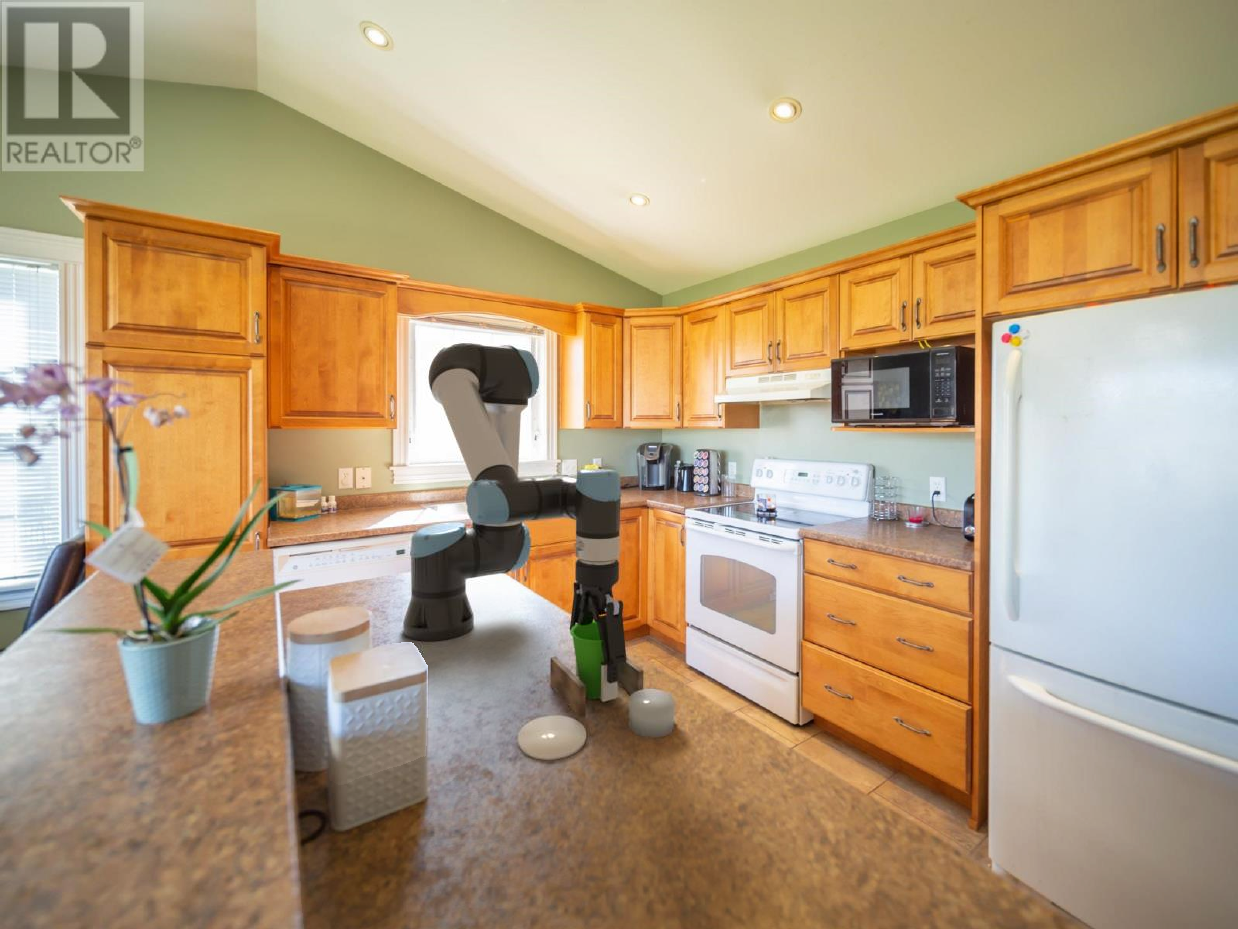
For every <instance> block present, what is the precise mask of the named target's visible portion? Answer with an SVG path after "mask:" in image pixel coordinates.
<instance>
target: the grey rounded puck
mask: <svg viewBox="0 0 1238 929" xmlns="http://www.w3.org/2000/svg"><path fill="white" fill-rule="evenodd" d="M628 703H629V705H628V706H629V707H628V708H629V709H628V712H629V713H628V726H629V728H630V730H631V731H632V732H633V733H635V734H636V735H638V736H641V737H643V738H652V739H656V738H661V737H665V736H667V735H669V734H670V733H672V731H673V730H674V726H675V703H676V702H675V698H674V697H673V696H672V695H671V693H668V692H666V691H664V690H661V689H658V688H657V689H655V688H643V690H639V691H636V692H634V693H633V694H630V697H629V702H628Z"/></svg>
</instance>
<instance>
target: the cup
mask: <svg viewBox="0 0 1238 929" xmlns="http://www.w3.org/2000/svg"><path fill="white" fill-rule="evenodd" d="M569 633H570V635H571V636H572V640H573V647H574V656H575V663H576V662H577V669H578V676H579V677H578V678H579V679H580V680H581V681H582V682H583V683H584V684H585V685H586V698H589V699H593V700H596V699H597V698H598V699H601V662H603V661H604V655H603V650H602V645H601V642H602V640H600V635H599V630H598V624H597V622H595V621H594V620H593V623H591V624H589V625H585V626H583V625H580V623H579V624H577V623H576V624H575V626H573V627H572V629H571V631H570V630H569ZM609 656H610V655H609Z"/></svg>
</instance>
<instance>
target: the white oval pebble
mask: <svg viewBox="0 0 1238 929" xmlns="http://www.w3.org/2000/svg"><path fill="white" fill-rule="evenodd" d="M586 742H587V730H586V728H585V726H584V725H583V723H581V722H580V721H578V720H576V719H575V718H572V717H569V716H564V715H548V716H542V717H541V716H540V717H538V718H535V719H532V720H531V721H529V722H528V723H526V724H524V726H522V727H521V729H520V730H519V732H518V734H517V744H518V747H519V749H520V750H521V752H523V754H524V755H526V756H528V757H531V758H533V759H537V760H543V761H554V760H561V759H565V758H568V757H570V756H573V755H574V754H576V753H578V752H579V751H580V750H581V749H582V748H583V747H584V746H585V744H586Z"/></svg>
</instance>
